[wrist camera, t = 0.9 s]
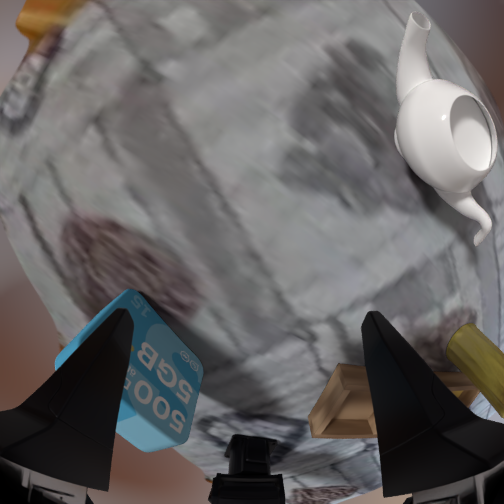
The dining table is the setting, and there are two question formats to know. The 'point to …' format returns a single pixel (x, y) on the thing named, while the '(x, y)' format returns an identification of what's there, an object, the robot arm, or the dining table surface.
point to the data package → (151, 377)
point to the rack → (364, 403)
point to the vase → (479, 363)
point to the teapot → (442, 128)
